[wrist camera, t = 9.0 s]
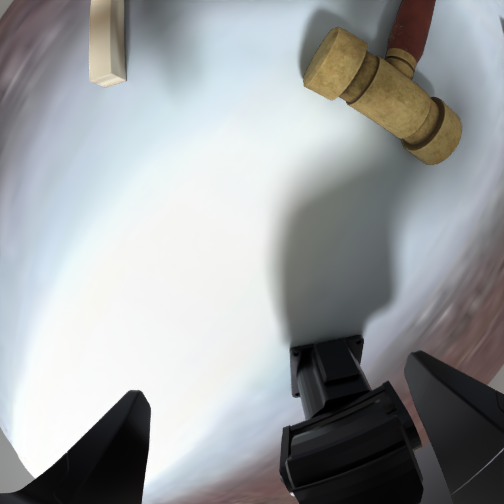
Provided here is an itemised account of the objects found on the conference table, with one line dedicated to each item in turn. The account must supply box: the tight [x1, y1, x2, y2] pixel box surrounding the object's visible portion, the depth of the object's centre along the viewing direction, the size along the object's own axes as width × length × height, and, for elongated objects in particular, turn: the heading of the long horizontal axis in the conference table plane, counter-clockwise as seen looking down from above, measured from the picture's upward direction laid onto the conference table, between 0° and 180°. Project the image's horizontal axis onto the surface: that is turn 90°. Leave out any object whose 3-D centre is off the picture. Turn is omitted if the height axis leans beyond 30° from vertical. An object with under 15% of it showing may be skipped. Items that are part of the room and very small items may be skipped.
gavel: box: [303, 0, 462, 165], centre depth 12 cm, size 21×5×10 cm
